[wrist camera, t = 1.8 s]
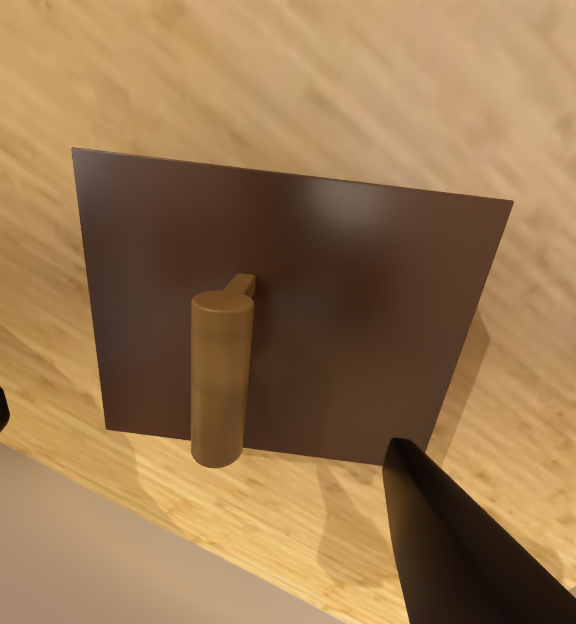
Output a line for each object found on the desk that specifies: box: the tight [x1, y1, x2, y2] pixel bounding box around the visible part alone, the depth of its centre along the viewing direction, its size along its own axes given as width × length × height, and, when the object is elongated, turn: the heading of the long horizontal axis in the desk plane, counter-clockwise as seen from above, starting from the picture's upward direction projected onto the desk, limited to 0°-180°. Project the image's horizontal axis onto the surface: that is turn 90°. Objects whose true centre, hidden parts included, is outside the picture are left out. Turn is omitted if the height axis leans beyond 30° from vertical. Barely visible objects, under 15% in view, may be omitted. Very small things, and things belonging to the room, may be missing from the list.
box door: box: [72, 148, 514, 468], centre depth 11 cm, size 14×12×5 cm
